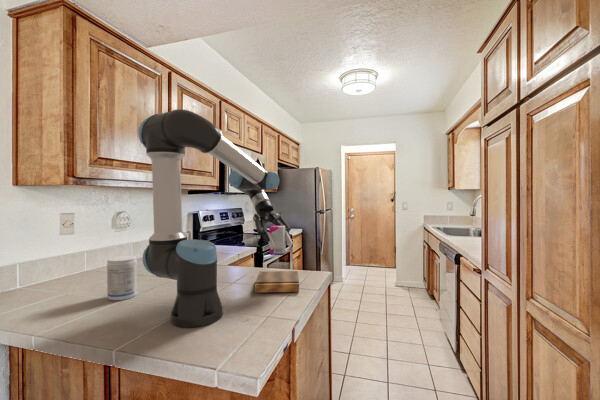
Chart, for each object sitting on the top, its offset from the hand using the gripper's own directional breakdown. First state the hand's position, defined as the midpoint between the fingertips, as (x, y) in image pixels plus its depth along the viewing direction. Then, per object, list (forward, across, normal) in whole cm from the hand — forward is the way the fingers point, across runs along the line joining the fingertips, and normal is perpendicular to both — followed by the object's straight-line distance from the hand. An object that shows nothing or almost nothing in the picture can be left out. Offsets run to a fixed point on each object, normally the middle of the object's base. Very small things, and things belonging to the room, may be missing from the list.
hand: (282, 246), depth 115 cm
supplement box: (0, 0, -5) cm, 5 cm away
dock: (+9, 0, -15) cm, 18 cm away
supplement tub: (-8, +54, -32) cm, 63 cm away
